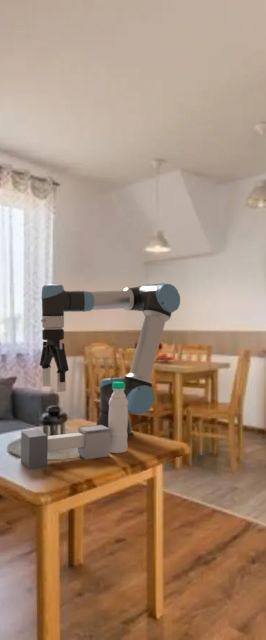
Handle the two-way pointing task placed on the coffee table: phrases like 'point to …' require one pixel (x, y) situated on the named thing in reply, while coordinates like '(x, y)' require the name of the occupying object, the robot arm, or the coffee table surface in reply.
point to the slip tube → (66, 441)
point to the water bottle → (118, 418)
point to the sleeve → (95, 442)
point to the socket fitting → (34, 448)
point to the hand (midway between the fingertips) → (53, 388)
